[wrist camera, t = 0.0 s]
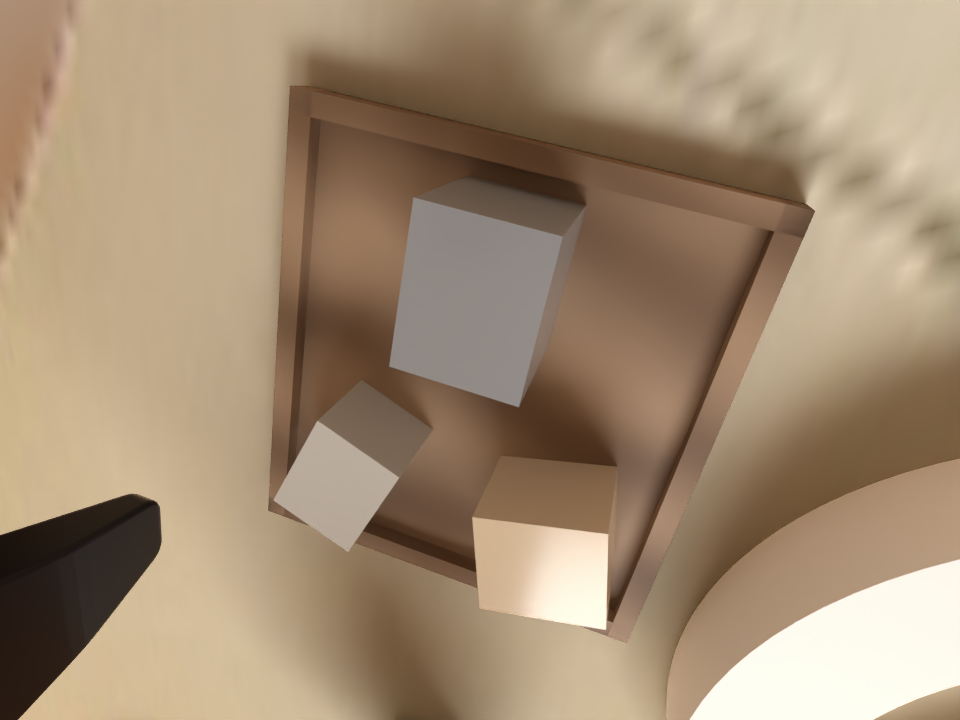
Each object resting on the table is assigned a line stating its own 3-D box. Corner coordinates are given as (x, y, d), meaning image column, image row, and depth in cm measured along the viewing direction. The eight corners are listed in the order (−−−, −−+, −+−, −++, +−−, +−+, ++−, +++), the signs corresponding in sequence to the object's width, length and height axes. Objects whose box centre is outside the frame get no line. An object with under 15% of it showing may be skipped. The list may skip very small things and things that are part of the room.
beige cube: (385, 499, 27) (347, 552, 24) (319, 453, 27) (273, 500, 24) (433, 429, 25) (399, 477, 21) (361, 379, 25) (317, 420, 21)
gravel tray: (628, 621, 26) (626, 643, 25) (282, 495, 29) (268, 510, 28) (806, 204, 18) (815, 211, 17) (309, 86, 21) (290, 85, 20)
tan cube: (614, 552, 24) (606, 629, 21) (505, 538, 26) (479, 608, 22) (617, 466, 23) (608, 534, 19) (500, 455, 24) (472, 517, 21)
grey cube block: (549, 344, 22) (518, 407, 17) (443, 313, 22) (389, 366, 18) (586, 204, 20) (563, 236, 15) (469, 175, 20) (413, 197, 16)
